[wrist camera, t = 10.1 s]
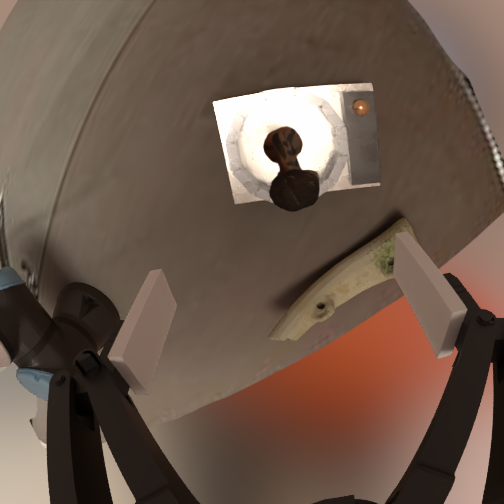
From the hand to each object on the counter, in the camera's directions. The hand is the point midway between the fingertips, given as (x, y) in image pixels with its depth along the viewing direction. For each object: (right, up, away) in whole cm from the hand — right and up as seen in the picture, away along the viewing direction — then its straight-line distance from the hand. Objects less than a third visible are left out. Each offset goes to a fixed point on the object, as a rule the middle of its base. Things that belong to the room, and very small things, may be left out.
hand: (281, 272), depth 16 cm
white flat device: (+5, +17, +23) cm, 29 cm away
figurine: (+2, +14, +20) cm, 25 cm away
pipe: (+14, -2, +34) cm, 37 cm away
